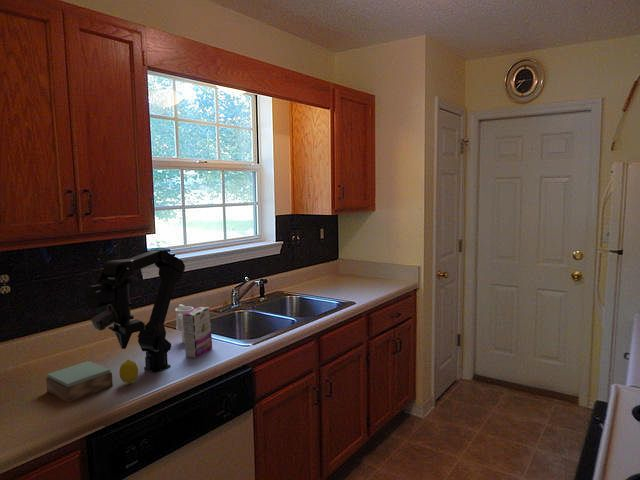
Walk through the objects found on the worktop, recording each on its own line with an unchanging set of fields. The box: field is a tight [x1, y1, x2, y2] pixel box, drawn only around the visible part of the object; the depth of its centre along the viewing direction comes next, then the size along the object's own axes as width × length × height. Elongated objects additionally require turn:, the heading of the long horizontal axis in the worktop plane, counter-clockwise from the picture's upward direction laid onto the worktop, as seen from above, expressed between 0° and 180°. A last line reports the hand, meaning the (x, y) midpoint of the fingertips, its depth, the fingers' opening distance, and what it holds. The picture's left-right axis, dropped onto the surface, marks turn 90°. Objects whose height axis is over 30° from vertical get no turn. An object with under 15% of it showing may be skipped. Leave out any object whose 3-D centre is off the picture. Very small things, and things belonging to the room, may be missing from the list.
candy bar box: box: [183, 306, 213, 359], centre depth 177 cm, size 11×5×16 cm, turn 161°
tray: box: [45, 371, 114, 404], centre depth 147 cm, size 14×13×4 cm
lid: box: [46, 360, 111, 387], centre depth 147 cm, size 13×13×1 cm
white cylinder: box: [175, 303, 195, 344], centre depth 189 cm, size 7×7×15 cm
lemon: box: [119, 359, 139, 385], centre depth 150 cm, size 6×6×8 cm
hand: (123, 348), depth 149 cm, fingers closed
